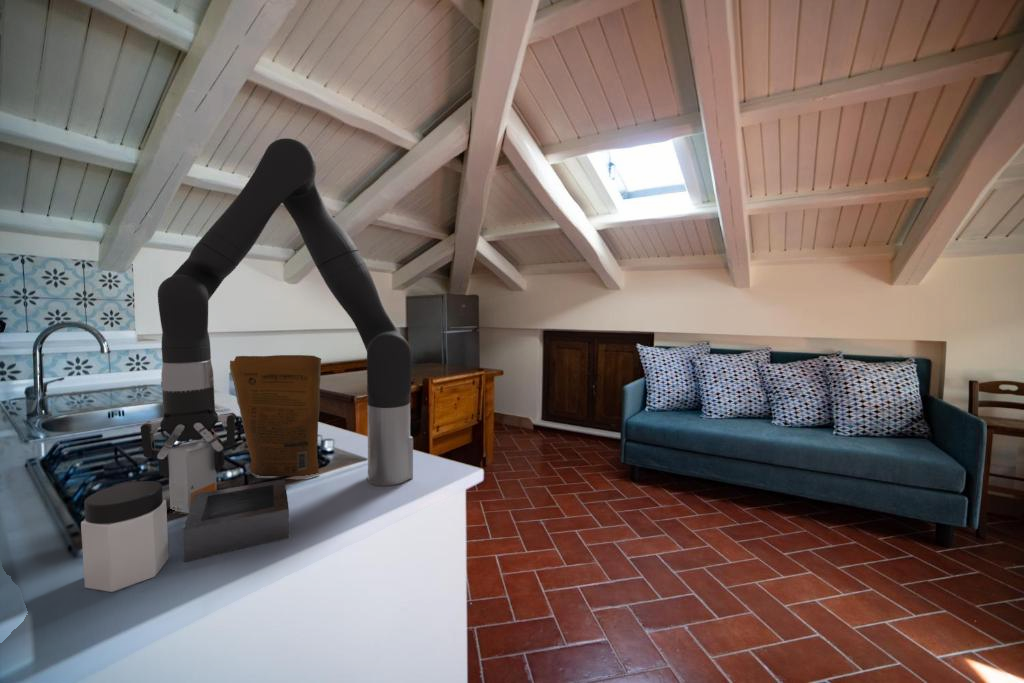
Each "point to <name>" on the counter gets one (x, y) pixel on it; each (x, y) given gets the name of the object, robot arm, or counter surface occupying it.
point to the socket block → (236, 519)
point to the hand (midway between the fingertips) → (193, 472)
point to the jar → (124, 535)
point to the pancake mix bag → (279, 412)
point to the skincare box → (190, 473)
